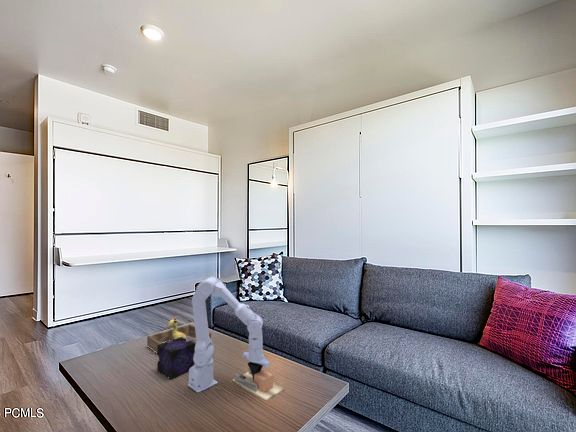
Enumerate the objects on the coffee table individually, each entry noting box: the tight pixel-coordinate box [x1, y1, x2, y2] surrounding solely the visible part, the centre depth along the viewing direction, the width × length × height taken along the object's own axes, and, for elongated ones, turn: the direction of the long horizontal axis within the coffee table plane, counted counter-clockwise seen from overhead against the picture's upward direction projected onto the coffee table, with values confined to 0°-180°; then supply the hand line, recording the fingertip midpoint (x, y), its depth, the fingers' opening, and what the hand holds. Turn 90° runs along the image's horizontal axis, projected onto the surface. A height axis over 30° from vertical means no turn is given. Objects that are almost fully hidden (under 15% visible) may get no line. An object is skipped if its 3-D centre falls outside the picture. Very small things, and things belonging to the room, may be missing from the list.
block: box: [254, 369, 274, 393], centre depth 121 cm, size 5×6×5 cm
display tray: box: [146, 323, 212, 352], centre depth 163 cm, size 25×23×6 cm
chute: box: [231, 367, 285, 402], centre depth 123 cm, size 10×21×4 cm, turn 48°
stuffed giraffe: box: [166, 316, 195, 343], centre depth 163 cm, size 16×18×16 cm
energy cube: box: [156, 337, 195, 380], centre depth 137 cm, size 12×12×12 cm
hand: (256, 379), depth 124 cm, fingers closed
